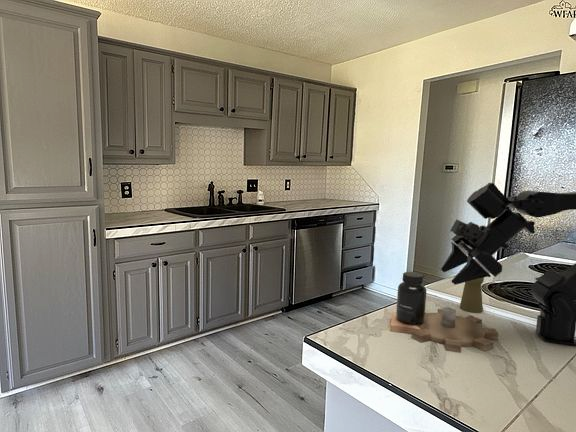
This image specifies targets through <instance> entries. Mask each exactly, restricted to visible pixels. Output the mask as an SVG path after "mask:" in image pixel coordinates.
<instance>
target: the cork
mask: <svg viewBox="0 0 576 432" xmlns="http://www.w3.org/2000/svg"><path fill="white" fill-rule="evenodd" d="M484 281H485V277H484V278H479V279H475V280H471V281H467V282H464V286H463V290H462V296H461V300H460V304H459V310H461V311H463V312H467V313H472V314H481V313H483V312H484V308H483V293H482V292H483V291H482V285H483V283H484Z"/></svg>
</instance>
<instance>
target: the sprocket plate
mask: <svg viewBox="0 0 576 432" xmlns="http://www.w3.org/2000/svg"><path fill="white" fill-rule="evenodd" d="M390 316H391V317H390V325H389V326H390V328H389V332H395V333H403V334H411V339H413V340H416V341H417V342H420V343H424V342H425V343H426V342H427V341H432V342H435V343H438V344H441V345H444V348H445V351H449V352H456V353H457V352H458V353H462V351H461V350H462V347H474V348H476V349H478V350H481V351H483V352H487V351H490V350H492V349H494V341H492V340H496V341H498V340H499V335H500V334H499V332H498V330H497V329H496V328H493V327H492V328H491V327H483V326H482V321H483V320H482V319H481V318H478V317H476V316H473V315H469V316H465V317H464V316H462V315H461V316H460V315H457V309H455V308H452V307H448V306H446V307H445V306H444V307H442V309H441V308H438V309H437V312H426V311H425V317H424V322H423V323H422V324H420V325H409V324H405V323H402V322H400V321H399V320H398V319H397V318H396V311H392V312H391V315H390Z"/></svg>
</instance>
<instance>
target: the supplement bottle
mask: <svg viewBox="0 0 576 432" xmlns="http://www.w3.org/2000/svg"><path fill="white" fill-rule="evenodd" d="M423 284H424V275H423V274H422V273H419V272H415V271H404V272H403V273H402V282H401V283H399V285H398V286H397V296H396V297H397V298H396V311H395V312H396V318H397V319H398V320H399V321H400V322H402V323H405V324H409V325H420V324H422V323H423V322H424V317H425V312H426V306H427V305H426V304H427V303H426V302H427V288H426V286H425V285H423Z"/></svg>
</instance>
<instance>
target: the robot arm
mask: <svg viewBox="0 0 576 432" xmlns="http://www.w3.org/2000/svg"><path fill="white" fill-rule="evenodd" d="M466 203H467V204H469V206H471V208H473V209H474V210H475V212H477V213H478V214H479V215H480V216H481V217H482V218H483V219H485V220H486V219H490V220H492V221H491V222H490V223H488V224H487V225H480V226H479V225H478V224H476V223H474V222H472V221H469V222H468V223H466V222H463V221H461V220H459V219H455V221H454V223H453V225H452V226H451V228H450V232H452V233H453V234H454V236H453V237H452V238H451V242H450V243H451V252H450V254H449V256H448V257H447V259H446V260H445V262H444V264H442V267H441V268H440V269H441V271H442V272H443V273H445V272H449V271H451V270H453V269H455V268H458V267H460V266H462V265H464V264H465V265H464V266H463V268H461V269H460V271H459V272H457V274H456V275H455V276H454V277H453V278H452V279H451V282H452V284H453V285H459V284H463V283H465V282H467V281H471V280H475V279H479V278H484V279H485V278H487V277H488V278H491V277H492V276H493V277H494V278H496V277H498V275H499V274H501V273H502V272H503V265H502V264H501V263H500V262H499V261H498V260H497V259H496V258H495V257H494V256H493V255H495V254H496V253H497V252H499V250H501V249H503V250H506V249H507V248H509V246H508V243H509V242H510V241H511V240H513V239H514V237H516V236H517V235H518V234H520V233H521V232H522V231H525V232H527V233H530V234H535V231H536V229H535V224H536V222H535V221H534V220H527V219H526V218H525V216H523V215H526V216H529V217H534V218H543V217H549V216H553V215H556V214H559V213H562V212H565V211H570V210H576V191H571V192H551V191H550V192H549V191H539V190H523V191H521V192H519V193H518V194H517V195H514V196H506V195H505V194H504V193H502V191H501V190H500V189H499V188H498V187H497V186H496V184H495V183H494V182H488V183H487V184H486V185H484V186H481V188H479V189H477V190H475V191H473V192H472V194H471V195H470V196H469V197H467V200H466ZM510 208H512V209H516V211H517V212H513V210H511V209H510ZM491 275H492V276H491ZM534 280H535V281H534V283H532V285H531V291H530V292H531V295H532V297H533V299H534V300H537V304H538V306H539V307H540V312H539V314H537V316H536V328H535V332H536V333H537V335H539V337H540V338H542V341H544V342H546V343H555V344H563V345H568V346H569V345H572V346H576V340H575V336H576V303H575V302H576V262H575V263H573V264H572V265H571V266H569V267H568V268H567V269H565V270H562V271H559V272H557V271H555V270H553V269H551V268H549V269H547V271H545V272H544V273H543V274H542V275H540V276H539V277H535V278H534Z"/></svg>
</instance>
